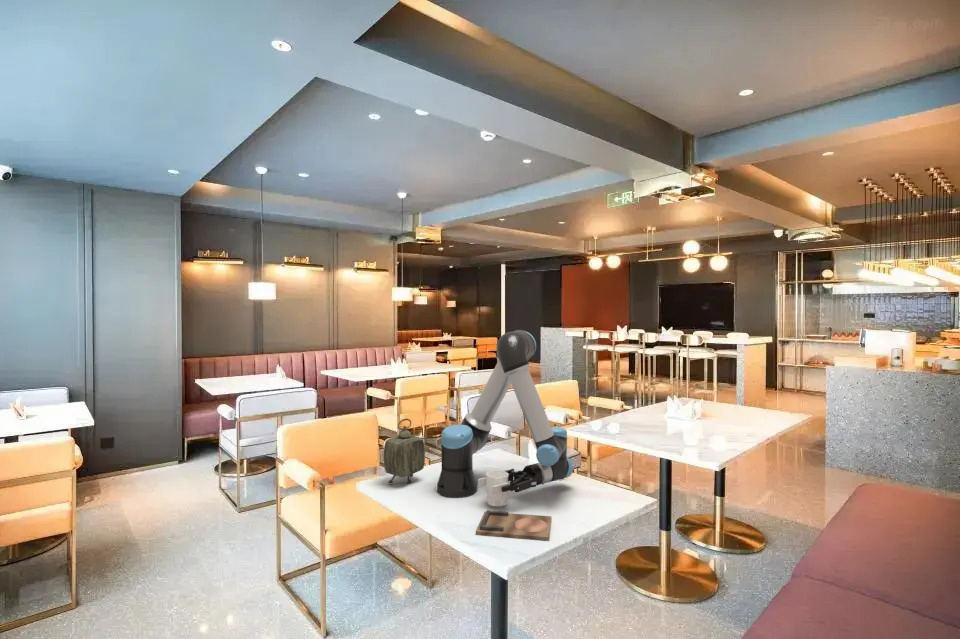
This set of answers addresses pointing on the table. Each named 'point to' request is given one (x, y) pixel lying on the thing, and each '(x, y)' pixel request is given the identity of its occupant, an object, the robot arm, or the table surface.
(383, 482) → the table surface
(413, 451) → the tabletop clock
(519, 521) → the walnut board
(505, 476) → the white cup
